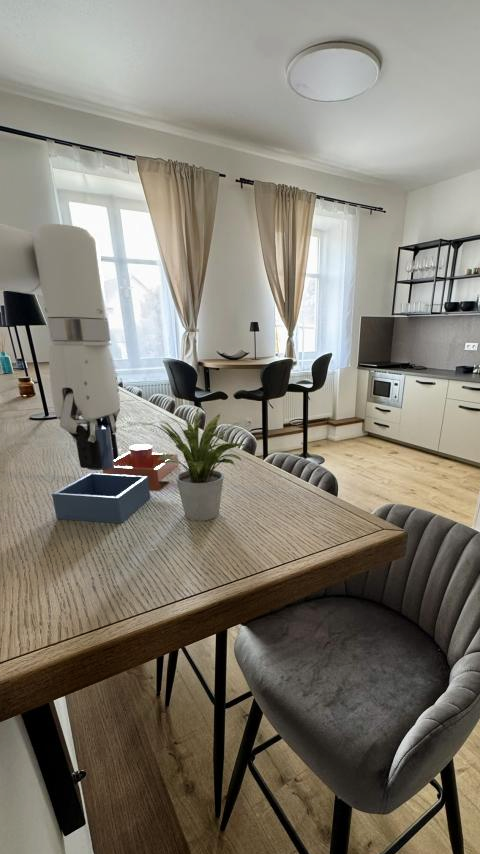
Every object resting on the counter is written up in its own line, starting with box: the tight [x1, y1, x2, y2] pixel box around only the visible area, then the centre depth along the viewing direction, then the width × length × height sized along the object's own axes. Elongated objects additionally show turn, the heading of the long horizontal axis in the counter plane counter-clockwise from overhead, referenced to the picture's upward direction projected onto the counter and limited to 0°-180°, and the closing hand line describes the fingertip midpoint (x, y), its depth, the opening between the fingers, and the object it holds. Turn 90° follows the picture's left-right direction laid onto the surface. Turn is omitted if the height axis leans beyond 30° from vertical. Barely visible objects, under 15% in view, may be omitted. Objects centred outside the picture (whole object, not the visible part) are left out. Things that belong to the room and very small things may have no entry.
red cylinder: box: [129, 444, 155, 468], centre depth 77 cm, size 4×4×6 cm
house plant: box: [146, 406, 247, 522], centre depth 60 cm, size 14×14×16 cm
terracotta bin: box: [102, 451, 179, 492], centre depth 78 cm, size 10×10×4 cm
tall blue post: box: [83, 425, 115, 471], centre depth 62 cm, size 4×4×6 cm
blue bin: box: [51, 472, 151, 524], centre depth 65 cm, size 10×10×4 cm
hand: (100, 462), depth 63 cm, fingers closed on tall blue post, 4 cm apart
